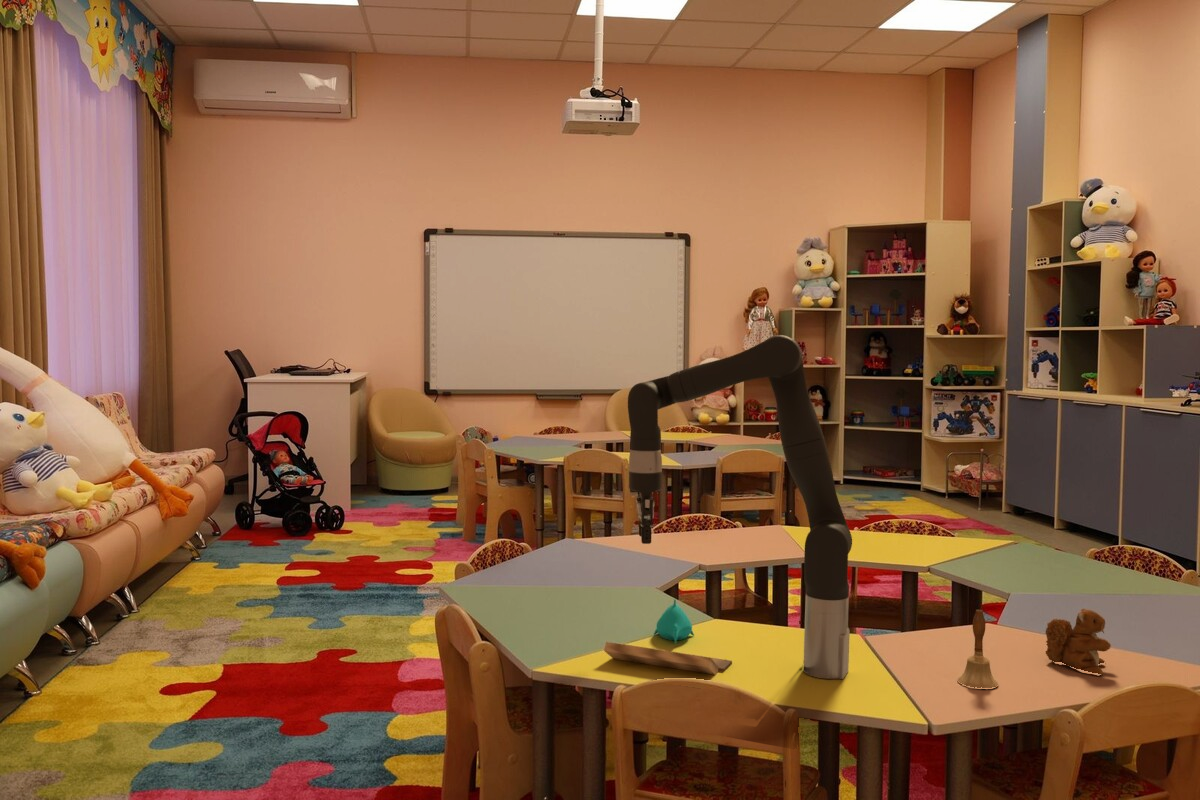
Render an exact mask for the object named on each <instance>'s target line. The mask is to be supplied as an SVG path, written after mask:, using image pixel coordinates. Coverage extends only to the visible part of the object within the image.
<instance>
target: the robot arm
mask: <svg viewBox="0 0 1200 800" xmlns="http://www.w3.org/2000/svg"><path fill="white" fill-rule="evenodd" d="M765 378H768V380H769V383H770V386H771V388H772V392H773V395H774V397H775V402H776V407H777V408H776V410H777V419H778V422H777V423H778V428H779V437H780V442H781V447H782V450H783V455H784V458H785V461H786V465H787V468H788V471H789V473H790V475H791V477H792V479H793V482H794V484H795V485H796V488H797V489H798V491H799V493H800V495H801V498H802V499H803V503H804V505H805V509H806V513H807V517H808V524H809V529H810V530H809V532H808V533H807V535H806V538H805V542H804V552H803V553H804V560H803V561H804V563H803V564H804V565H803V567H804V568H803V569H804V571H803V573H804V575H803V576H804V577H803V578H804V585H805V601H804V602H805V603H804V604H805V605H804V606H805V607H804V608H805V609H804V611H805V612H804V632H803V633H804V635H803V637H804V638H803V660H802V661H803V663H802V664H803V669H802V670H803V672H804V673H805V674H806V675H808V676H811V677H813V678H818V679H819V678H820V679H830V680H831V679H832V680H834V679H841V680H843V679H844V678H846V676H847V674H848V672H849V668H850V667H849V663H850V636H851V635H850V628H849V601H850V600H849V599H850V597H849V596H850V585H849V580H848V574H849V573H848V572H849V571H848V569H849V553H850V551H851V549H852V547H853V535H852V533H851V531H850V527H849V525H848V523H847V520H846V518H845V516H844V515H845V514H844V512H843V510H842V506H841V505H840V504H841V503H840V501H839V498H838V494H837V490H836V485H835V479H834V475H833V471H832V469H833V468H832V465H831V459H830V456H829V451H828V447H827V444H826V440H825V436H824V434H823V430H822V427H821V424H820V420H819V418H818V415H817V413H816V410H815V408H814V405H813V402H812V399H811V398H810V393H809V391H808V386H807V385H808V384H807V382H806V381H807V379H806V374H805V369H804V359H803V352H802V349H801V346H800V344H799V343H798V342H797V341H796V340H795V339H793V338H792V337H789V336H787V335H785V334H784V335H783V334H776V335H772V336H770V337H767V339H765V340H764V341H762V342H760V343H758V344H755V345H754V346H752V347H750V348H748V349H746V350H742V352H739V353H737V354H734V355H730V356H727V357H724V358H721V359H720V358H719V359H717V360H713V361H708V362H705V363H701V364H698V365H693V366H690V367H688V368H683V369H681V370H678V371H675V372H673V373H671V374H669V375H666V376H662V377H659V378H656V379H655V378H654V379H652V380H651V379H650V380H647V381H644V382H643V381H642V382H639V383H636V384H634V385H633V386H632V387H631V388H630V390H629V392H628V395H627V396H628V397H627V414H628V421H629V422H628V423H629V427H630V428H629V429H630V435H629V436H630V437H629V438H630V440H629V442H630V443H629V449H630V450H629V455H628V489H629V491H633V492H636V493H637V497H635V503H636V504H635V505H636V514H637V519H638V535H639V537H641V540H640V542H641V544H643V545H649V544H651V543H652V527H653V525H654V516H655V509H654V508H655V504H656V503H655V499H654V497H652V493H653V492H660V491H661V490H662V489H663V484H662V483H663V482H662V481H663V480H662V479H663V470H662V469H663V459H662V458H663V457H662V433H661V432H662V431H661V427H660V426H659V416H658V415H659V414H658V412H659V410H661V409H663V408H666V407H669V406H672V405H674V404H678V403H685V402H689V401H692V400H695V399H699V398H702V397H705V396H708V395H711V394H714V393H716V392H719V391H721V390H724V389H726V388H729V387H732V386H734V385H738V384H740V383H741V384H742V383H744V382H748V381H752V380H757V379H765Z"/></svg>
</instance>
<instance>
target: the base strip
mask: <svg viewBox="0 0 1200 800" xmlns="http://www.w3.org/2000/svg"><path fill="white" fill-rule="evenodd" d="M622 644H623V643H622ZM623 645H626V644H623ZM628 645H629V646H633V645H632V644H628ZM635 646H636V647H639V646H638V645H635ZM641 647H642V648H646V647H644V646H641ZM648 648H649V649H652V648H650V647H648ZM654 649H655V650H659V649H657V648H654ZM661 650H662V651H665V650H664V649H661ZM667 651H668V652H672V651H669V650H667ZM674 652H675V653H679V652H676V651H674ZM680 653H681V654H685V653H683V652H680ZM687 654H688V655H692V654H690V653H687ZM694 655H695V656H698V655H696V654H694ZM700 656H701V657H705V656H703V655H700ZM707 657H708V656H707ZM708 658H711V659H712V660H713V661H714V662H715V663H716V664H717V666H718V667H719V669H718V673H725V672H726V670H728V669H729V668H730V667H731V666H732V664H733V660H729V659H723V658H716V657H710V656H709V657H708Z"/></svg>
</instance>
